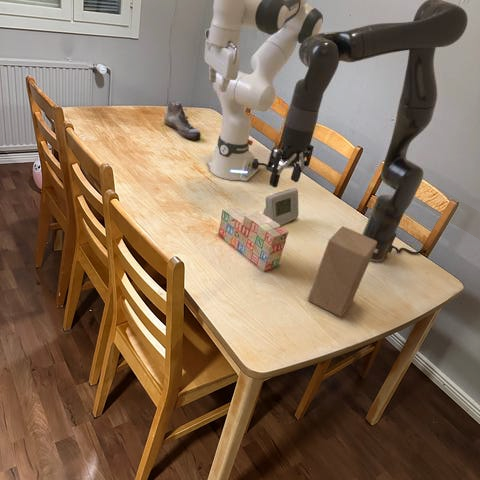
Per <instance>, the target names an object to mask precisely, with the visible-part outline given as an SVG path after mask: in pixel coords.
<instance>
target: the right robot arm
mask: <svg viewBox="0 0 480 480" xmlns="http://www.w3.org/2000/svg"><path fill="white" fill-rule="evenodd" d="M468 18H469V17H468V14H467V12H466V10H465V9H464V8H463V7H462V6H460V5H458V4H455V3H452V2H449V1H445V0H425V1H424V2H423V3H422V4H421V5H419V7H418V9H417V10H416V12H415V15H414V17H413V20H412V21H405V22H403V21H402V22H382V23H374V24H367V25H363V26H359V27H356V28H351V29H348V30H342V31H329V32H320V33H319V32H318V34H315V35H312V36H310V37H308V38H306V39H305V40H304V41H303V42H302V44H301V43H300V44H299V48H298V59H299V60H300V62H301V63H302V65H304V66H305V67H306V68H308V69H307V71H306V73H305V76H304V78H302V79H301V78H300V79H299V80H297V81H296V83H295V86H294V90H293V93H292V97H291V101H290V104H289V107H288V110H287V112H286V116H285V120H284V124H283V127H282V132H281V136H280V139H281V141H282V145H281V147H280V148H277V147H273V148H272V149H271V150H270V155H269V158H268V161H267V167H266V170H267V171H268V172H270V173H271V174H270V176H269V177H270V178H269V182H268V183H269V185H270V186H271V187H272V188H278V185H279V181H280V178H281V174H282V173H283V171H284V169H287V168H288V167H289V166H288V165H290V164H292V163H294V166H293V168H292V172H291V176H290V180H291V181H292V182H294V183H298V182H299V181H300V178H301V175H302V171H303V170H304V169H305V167H306V168H307V167H309V166H310V163H311V160H312V156H313V152H314V148H315V146H314V145H312V144H311V143H312V139H313V136H314V133H315V129H316V126H317V122H318V118H319V112H320V108H321V104H322V101H323V98H324V94H325V92H326V90H327V89H328V88H329V85H330V83H331V82H332V79H333V78H334V76H335V74H336V72H337V69H338V68H339V64H340V62H345V63H356V62H361V61H364V60H367V59H371V58H376V57H380V56H384V55H388V54H393V53H399V52H405V51H408V58H407V64H406V69H405V74H404V79H403V85H402V89H401V94H400V98H399V103H398V106H397V111H396V118H395V121H394V126H393V131H392V135H391V139H390V143H389V146H388V149H387V152H386V156H385V159H384V162H383V163H382V167H381V175H380V176H381V180H382V182H383V183H384V184H385V185H387V186H388V187H390V188H391V189H392V190H394V193H393V194H392V195H391V194H381V195H379V196H377V197H376V200H375V202H374V204H373V207H372V209H371V212H370V215H369V217H368V219H367V222H366V224H365V227H364V229H363V231H362V233H361V234H362V235H364V236H366V237H368V238H371V239H373V240H375V241H377V245H376V247H375V250H374V252H373V254H372V257H371V259H370V261H369V262H375V263H377V262H379V263H380V262H382V261H384V259H387V257H388V254H390V253H392V252H393V249H394V250H395V251H396V252H397V253H401V251H406V252H408V253H410V254H413V255H418V254H420V253H422V252H423V253H426V254H427V250H426V249H423V248H422V249H420V250H418V251H417V250H416V251H412V250H410V249H408V248H405V247H400V248H398V247H396V246H394V245H393V244H394V242H395V239H396V237H397V233H396V232H397V229H398V228H399V225H400V223H401V221H402V219H403V216H404V214H405V212H406V210H407V209H409V206H410V205H411V203H412V202H413V200H414V197H415V195H416V193H417V191H418V190H419V189H420V186H421V184H422V182H423V179H424V170H423V167H421V166H420V165H417V164H416V163H414V162H412V161H411V160H408V159H407V153H408V150H409V147H410V145H411V143H412V141H414V140H415V138H416V137H418V136H419V135H420V134H421V133H422V132H424V131H425V130H426V128H427V127H428V126H429V125H430V123H431V122H432V120H433V117H434V114H435V113H434V112H435V109H436V106H437V101H438V86H437V85H438V84H437V79H436V78H437V77H436V73H435V72H436V71H435V54H436V49H437V48H446V47H448V46H449V47H450V46H451V45H454V44H455V43H456V42H457V41H459V40H460V39H461V37H462V36H463V35H464V33H465V31H466V29H467V27H468V21H469V19H468ZM305 159H306V160H305ZM272 163H273V164H272Z"/></svg>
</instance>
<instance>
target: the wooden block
mask: <svg viewBox="0 0 480 480" xmlns="http://www.w3.org/2000/svg"><path fill="white" fill-rule="evenodd" d="M362 234H363V233H360V232H357V231H355V230H353V229H352V228H351V229H350V228H348V227H346V226H341V227H340V228H339V229H338V230H337V231H336V232H335V233H334V234H333V235H332V236H331V237H330V239H328V242H327V244H326V247H325V250H324V253H323V255H322V258H321V261H320V264H319V267H318V269H317V273H316V275H315V278H314V281H313V283H312V287H311V289H310V292H309V295H308V297H307V301H309V302H311V303H312V304H314V305H317V306H318V307H320V308H322V309H323V310H325V311H327V312H329V313H331V314H333V315H335V316H337V317H339V318H341V317H343V316H344V313H346V311H347V309H348V308H349V306H350V305H351V303H352V302H353V300H354V298H355V296H356V293H357V291H358V289H359V287H360V285H361V282H362V280H363V278H364V274H365V273H366V270H367V268H368V265H369V263H370V262H371V261H370V259H371V257H372V254H373V252H374V250H375V247H376V245H377V241H375V240H373V239H371V238H368V237H366V236H364V235H362Z"/></svg>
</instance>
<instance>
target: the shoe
mask: <svg viewBox="0 0 480 480" xmlns="http://www.w3.org/2000/svg"><path fill="white" fill-rule="evenodd" d="M185 111H188V109H187V108H184V107H183V105H182V102H176V101H174V102H171V100H168V104H167V107H166V109H165V114H164V118H163V119H164V120H163V121H164V124H165V125H166V126H169V127H171V128H172V129H174V130H176V131H177V133H178V135H180V136H181V137H182V138H185V139H187V140H190V141H195V142H196V141H199V140H201V135H202V134H201V131H199V130H198V129H197V128H196V127H194V126H193V125H191V123H190V122H189V117H188V116H187V115H186V114H185Z"/></svg>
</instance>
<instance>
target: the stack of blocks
mask: <svg viewBox="0 0 480 480" xmlns="http://www.w3.org/2000/svg"><path fill="white" fill-rule="evenodd" d="M217 234H218V236H220V237H221V238H222V239H223V240H224V241H225V242H227V243H228V244H229V245H230V246H231V247H233V248H234V249H235V250H237V251H238V252H239V253H241V254H242V255H243V256H244V257H246V258H247V259H248V260H249V261H250V262H252V263H253V264H254V265H255V266H256V267H258V269H260V270H261V271H262V272H267V271H269V270H271V269H273V268H275V267H278V266H279V265H280V261H281V258H282V254H283V251H284V249H285V245H286V242H287V238H288V235H289V231H288V230H287V229H285V228H284V227H282V225H279V224H278V223H276V222H275V221H273V220H272V219H270V218H269V217H267V216H265V215H264V214H263V213H262V212H261V211H259V210H258V211H254V212H252V213H249V212H247V211H246V210H244V209H242V208H241V207H240V206H238V205H234V206H230V207H228V208H224V209H222V210H221V216H220V223H219V228H218V232H217Z"/></svg>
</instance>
